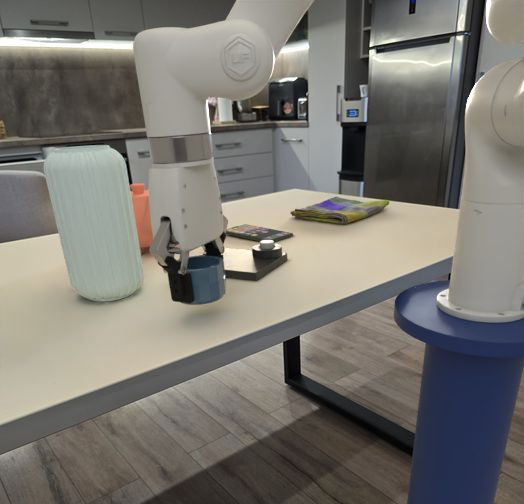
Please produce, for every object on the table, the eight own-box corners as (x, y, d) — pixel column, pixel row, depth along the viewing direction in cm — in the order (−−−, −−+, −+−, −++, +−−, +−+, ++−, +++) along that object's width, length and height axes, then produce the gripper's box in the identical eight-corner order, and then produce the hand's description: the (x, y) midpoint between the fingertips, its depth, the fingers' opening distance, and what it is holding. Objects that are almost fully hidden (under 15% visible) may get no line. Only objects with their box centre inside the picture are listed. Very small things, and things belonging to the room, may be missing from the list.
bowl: (236, 290, 67) (233, 256, 65) (209, 308, 61) (204, 272, 59) (193, 285, 70) (189, 253, 68) (163, 303, 65) (158, 268, 62)
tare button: (276, 247, 90) (275, 240, 89) (270, 250, 88) (269, 243, 87) (263, 246, 91) (263, 239, 90) (257, 249, 89) (257, 242, 88)
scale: (287, 259, 92) (287, 244, 90) (256, 280, 81) (255, 263, 80) (216, 253, 98) (215, 238, 97) (178, 272, 88) (176, 256, 86)
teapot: (196, 239, 109) (189, 177, 103) (163, 261, 95) (153, 190, 89) (134, 238, 114) (124, 179, 108) (93, 258, 99) (78, 191, 93)
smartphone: (269, 243, 103) (269, 237, 103) (221, 235, 113) (221, 230, 112) (293, 236, 109) (293, 230, 108) (245, 228, 118) (245, 223, 117)
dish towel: (392, 208, 131) (393, 198, 130) (344, 226, 115) (344, 214, 114) (338, 204, 142) (338, 194, 140) (287, 219, 125) (286, 208, 124)
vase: (125, 278, 86) (100, 143, 76) (159, 291, 78) (137, 144, 68) (62, 295, 79) (26, 149, 69) (93, 312, 72) (58, 151, 62)
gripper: (195, 146, 66) (210, 270, 74) (107, 161, 52) (137, 311, 60) (243, 144, 63) (253, 274, 71) (162, 159, 49) (186, 318, 57)
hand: (200, 290), depth 65 cm, fingers closed on bowl, 7 cm apart
